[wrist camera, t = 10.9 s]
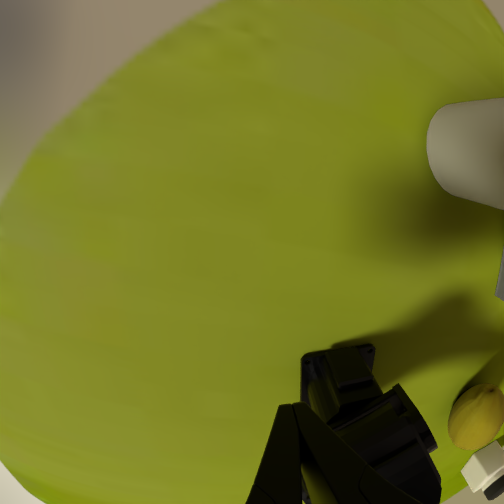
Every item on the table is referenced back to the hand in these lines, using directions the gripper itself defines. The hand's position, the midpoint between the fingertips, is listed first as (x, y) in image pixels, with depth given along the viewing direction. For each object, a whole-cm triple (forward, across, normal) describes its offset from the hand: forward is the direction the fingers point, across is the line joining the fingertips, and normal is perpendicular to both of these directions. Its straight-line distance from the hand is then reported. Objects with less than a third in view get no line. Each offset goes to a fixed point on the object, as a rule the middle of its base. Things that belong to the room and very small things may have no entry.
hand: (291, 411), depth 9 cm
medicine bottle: (+13, -42, +47) cm, 64 cm away
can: (+13, -16, -8) cm, 23 cm away
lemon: (+13, -25, +21) cm, 35 cm away
